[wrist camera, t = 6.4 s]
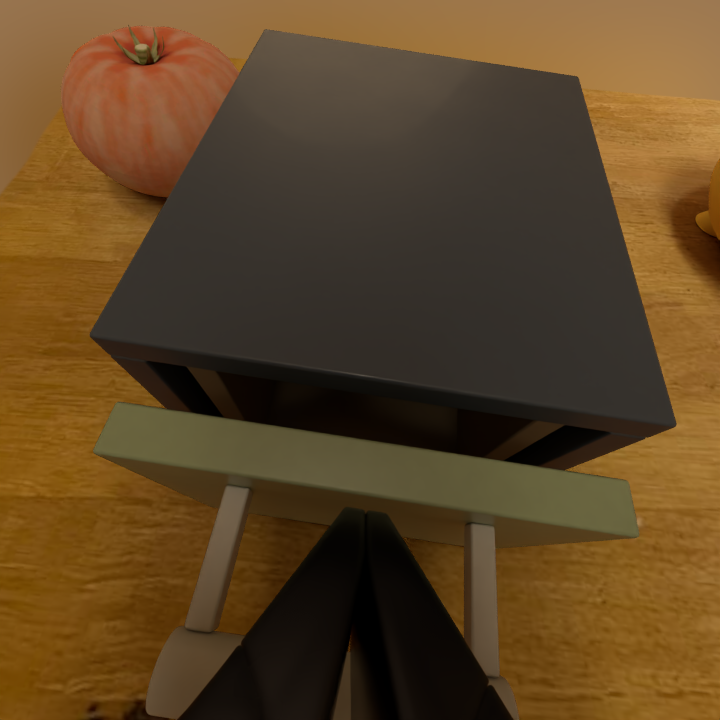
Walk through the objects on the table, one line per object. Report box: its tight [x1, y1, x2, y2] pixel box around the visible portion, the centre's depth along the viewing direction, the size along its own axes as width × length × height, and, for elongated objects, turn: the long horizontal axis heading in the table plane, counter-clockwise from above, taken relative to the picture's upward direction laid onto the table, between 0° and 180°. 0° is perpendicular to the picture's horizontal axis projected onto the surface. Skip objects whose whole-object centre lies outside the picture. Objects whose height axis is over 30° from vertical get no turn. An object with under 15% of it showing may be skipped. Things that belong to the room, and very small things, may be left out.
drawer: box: [93, 367, 639, 720], centre depth 14 cm, size 18×12×9 cm, turn 172°
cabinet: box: [90, 29, 676, 470], centre depth 16 cm, size 15×13×11 cm
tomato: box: [61, 26, 239, 197], centre depth 23 cm, size 11×11×8 cm
